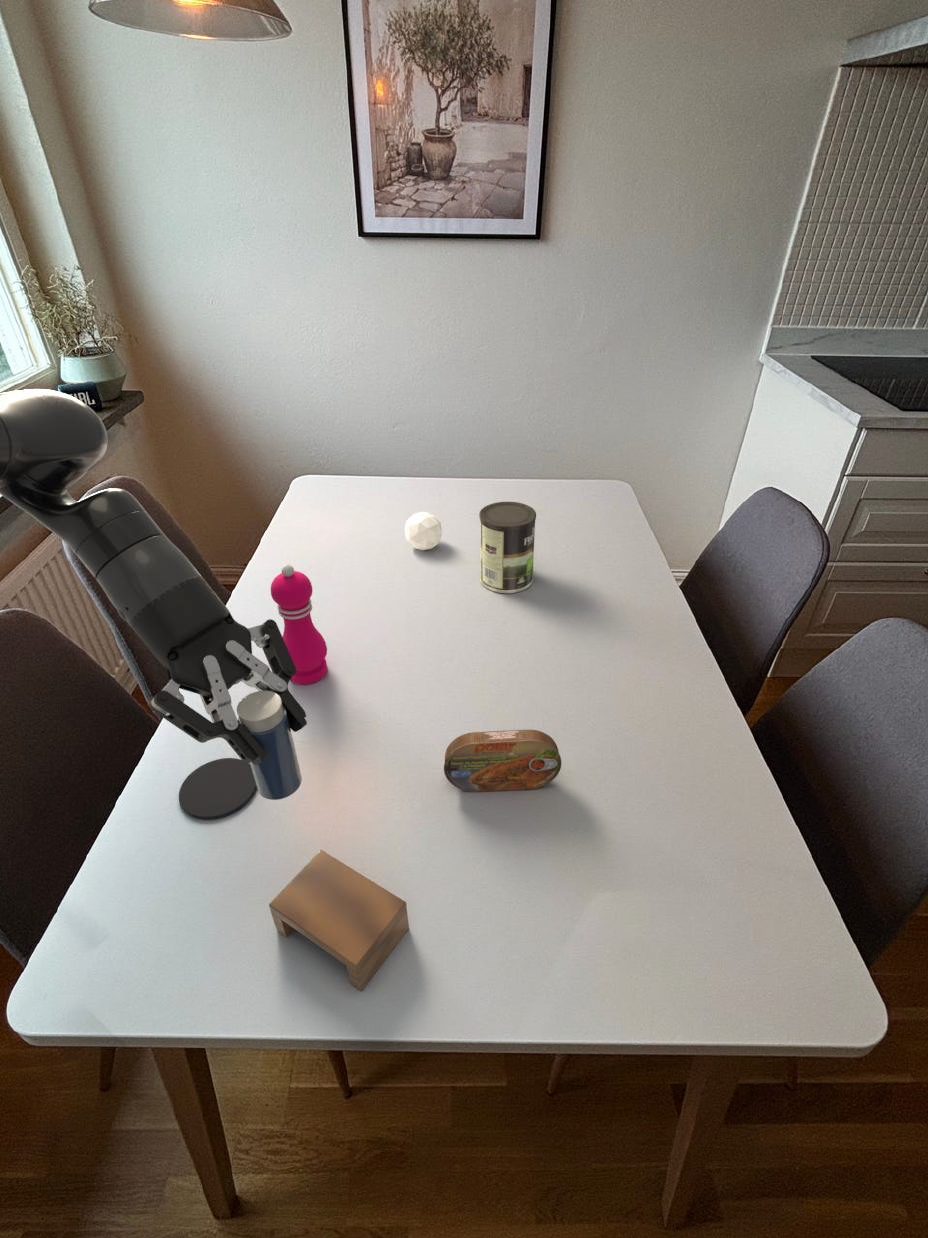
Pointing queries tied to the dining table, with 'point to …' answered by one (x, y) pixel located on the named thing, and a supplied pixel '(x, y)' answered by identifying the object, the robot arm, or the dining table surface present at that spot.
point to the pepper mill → (299, 625)
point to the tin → (502, 760)
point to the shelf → (342, 915)
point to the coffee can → (507, 546)
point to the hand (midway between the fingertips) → (281, 743)
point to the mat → (217, 789)
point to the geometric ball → (423, 531)
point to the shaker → (271, 744)
